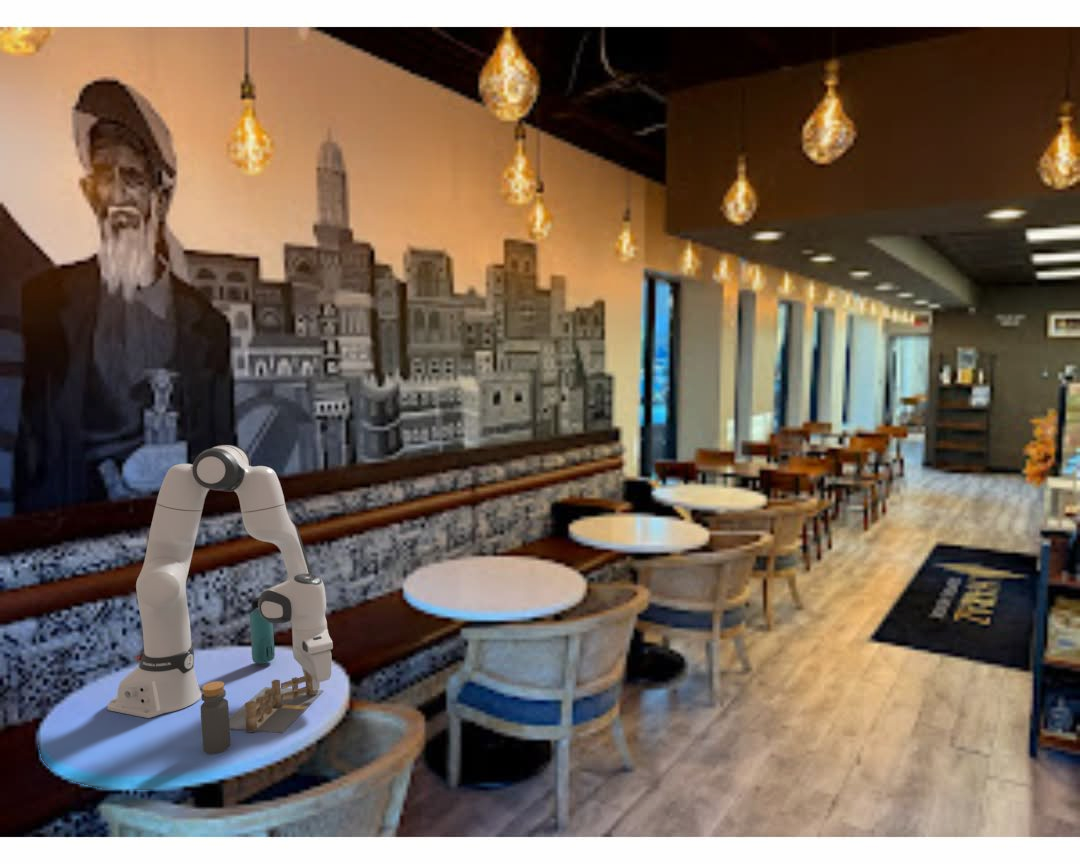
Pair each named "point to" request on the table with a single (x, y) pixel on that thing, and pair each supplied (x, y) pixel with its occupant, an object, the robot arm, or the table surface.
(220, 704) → the bottle
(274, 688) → the fence fixed
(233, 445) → the robot arm
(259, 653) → the beverage bottle
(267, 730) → the card
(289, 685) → the fence gate
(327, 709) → the table surface
